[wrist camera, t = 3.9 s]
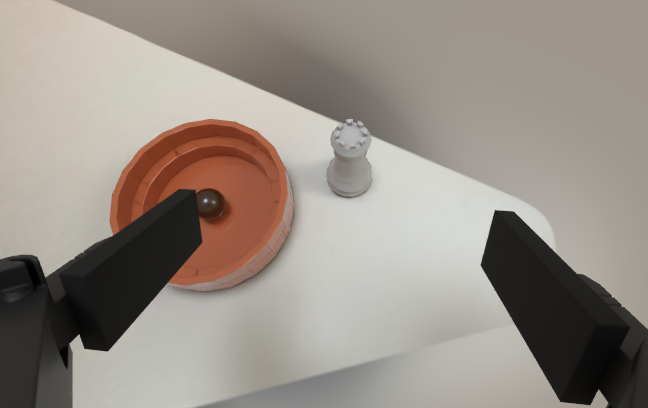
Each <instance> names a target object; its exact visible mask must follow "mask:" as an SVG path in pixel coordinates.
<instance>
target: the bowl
mask: <svg viewBox="0 0 648 408" xmlns="http://www.w3.org/2000/svg"><path fill="white" fill-rule="evenodd" d="M205 188H213V189H216V190H218V191H220V192H221V193H222V194H223V196H224V197H225V200H226V208H225V211H224V213H223V214H222V215H221V216H220V217H219V218H217V219H215V220H203V219H201V218H199V219H200V227H201V234H202V242H203V243H202V244H201V245H200V246H199V247H198V248H197V250H196V251H195V252H194V253H193V254H192V255H191V257H190V258H189V259H188V260H187V261H186V262H185V263H184V265H183V266H182V267H181V268H180V269H179V270H178V271H177V273H176V274H175V275H174V276H173V277H172V278H171V280H170V281H169V282H168V283H167V284H168V285H172V286H175V287H178V288H184V289H190V290H196V291H202V292H203V291H204V292H205V291H211V290H217V289H224V288H229V287H232V286H234V285H236V284H238V283H240V282H242V281H244V280H246V279H248V278H250V277H252V276H254V275H255V274H257V273H258V272H259V271H260V270H261V269H262V268H263V267H264V266H266V265H267V264H268V263H269V262H270V261H271V260H272V259H273V258H274V257H275V255H277V253H278V251H279V249H280V248H281V246H282V244H283V242H284V241H285V239H286V237H287V235H288V234H289V231H290V226H291V221H292V217H293V212H294V203H293V195H292V187H291V184H290V181H289V178H288V175H287V172H286V169H285V167H284V165H283V163H282V161H281V159H280V157H279V155H278V153H277V151H276V149H275V148H274V146H273V145H272V144H270V143H269V142H268V141H267V140H266V139H265V138H264V137H263V136H262V135H261V134H259V133H258V132H257V131H255V130H253V129H251V128H248V127H246V126H244V125H241V124H239V123H237V122H232V121H223V120H214V119H208V120H202V121H196V122H189V123H185V124H182V125H180V126H177V127H175V128H173V129H170V130H168V131H166V132H163V133H162V134H160V135H158V136H157V137H156V138H154V139H153V140H152V141H150V142H149V143H148V144H147V145H145V146H144V147H143V148H141V149H140V150H139V151H138V152H137V154H136V155H135V156H134V157H133V159H132V160H131V161H130V162H129V164H128V165H127V166H126V167H125V169H124V170H123V171H122V173H121V176H120V178H119V180H118V183H117V185H116V187H115V190H114V192H113V194H112V202H111V212H110V224H111V228H112V232H113V235H115V234H116V233H117V232H119V231H120V230H122V229H123V228H125V227H126V226H127V225H129V224H130V223H132V222H133V221H134V220H136V219H137V218H139V217H140V216H142V215H143V214H144V213H146V212H147V211H149V210H150V209H151V208H153V207H154V206H156V205H157V204H159V203H160V202H161V201H163V200H164V199H166V198H167V197H168V196H170V195H171V194H173V193H174V192H176V191H177V190H178V189H191V190H196V193H197V192H198V191H200V190H202V189H205Z"/></svg>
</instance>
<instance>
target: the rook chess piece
mask: <svg viewBox="0 0 648 408" xmlns="http://www.w3.org/2000/svg"><path fill="white" fill-rule="evenodd" d="M370 144H371V135H370V133H369V131H368V130H367V129H366V128H365V127H364V126H363V123H362V122H360V121H358V122H357V123H353V122H352V119H348V120H346V123H344V124H342V123H341V122H340V124H339V125H338V126H337V128H336V129H335V130H334V131H333V132H332V135H331V145H332V147H333V149H334V154H335V157H334V158H333V159H332V160H331V161H330V163H329V166H328V169H327V181H328V184H329V185H330V187H331V189H332V190H334V191H335V192H336V193H338V194H339V195H343V196H347V197H349V196H357V195H359V194H361V193H363V192H365V190H366V189H367V188H368V187H369V186H370V183H371V180H372V169H371V165H370V163H369V162H368V160H367V158H366V157H365V156H366V153H367V150H368V148H369V147H370Z"/></svg>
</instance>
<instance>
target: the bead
mask: <svg viewBox="0 0 648 408" xmlns="http://www.w3.org/2000/svg"><path fill="white" fill-rule="evenodd" d="M196 196H197V204H198V211H199V218H201V219H203V220H215V219H217V218H219V217H220V216H221V215H222V214H223V213H224V211H225V208H226V200H225V197H224V196H223V194H222V193H221V192H220V191H218V190H216V189H213V188H205V189H202V190H200V191H198V192H197V193H196Z"/></svg>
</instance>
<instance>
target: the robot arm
mask: <svg viewBox="0 0 648 408" xmlns="http://www.w3.org/2000/svg"><path fill="white" fill-rule="evenodd" d="M202 243H203V242H202V234H201V227H200V219H199V211H198V204H197V196H196V190H191V189H178V190H177V191H176V192H174V193H173V194H171V195H170V196H168V197H167V198H166V199H164V200H163V201H161V202H160V203H159V204H157V205H156V206H154V207H153V208H151V209H150V210H149V211H147V212H146V213H144V214H143V215H142V216H140V217H139V218H137V219H136V220H134V221H133V222H132V223H130V224H129V225H127V226H126V227H125V228H123V229H122V230H120V231H119V232H117V233H116V234H115V235H113V236H112V237H109V238H107V239H104V240H102V241H100V242H97V243H95V244H94V245H92V246H91V247H89V248H88V249H86V250H85V251H84V253H81V254H79V255H78V256H76V257H75V259H72V260H70V261H69V262H68V263H66V264H65V265H63V266H62V267H60V268H59V269H57V270H56V271H54V272H53V273H52V274H50V275H49V276H47V277H46V278H45V276H44V273H43V270H42V268H41V265H40V262H39V260H38V257H36V256H33V255H18V256H11V257H7V258H4V259H0V408H72V354H73V353H72V350H71V347H70V344H69V343H71V342H72V341H73V340H74V339H75V338H76V337H77V336H78V335H79V334H80V337H81V340H82V343H83V346H84V349H90V350H99V351H109V350H110V349H111V347H112V346H113V345H114V344H115V343H116V342H117V340H118V339H119V338H120V337H121V336H122V335H123V334H124V332H125V331H126V330H127V329H128V328H129V327H130V326H131V324H132V323H133V322H134V321H135V320H136V319H137V317H138V316H139V315H140V314H141V313H142V312H143V311H144V309H145V308H146V307H147V306H148V305H149V304H150V303H151V301H152V300H153V299H154V298H155V297H156V296H157V294H158V293H159V292H160V291H161V290H162V289H163V288H164V286H165V285H166V284H167V283H168V282H169V281H170V280H171V278H172V277H173V276H174V275H175V274H176V273H177V271H178V270H179V269H180V268H181V267H182V266H183V265H184V263H185V262H186V261H187V260H188V259H189V258H190V257H191V255H192V254H193V253H194V252H195V251H196V250H197V248H198V247H199V246H200V245H201V244H202ZM481 267H482V269H483V270H484V272H485V274H486V275H487V277H488V279H489V280H490V282H491V284H492V286H493V287H494V289H495V291H496V292H497V294H498V296H499V298H500V299H501V301H502V303H503V304H504V306H505V308H506V310H507V311H508V313H509V315H510V316H511V318H512V320H513V322H514V323H515V325H516V327H517V328H518V330H519V332H520V333H521V335H522V337H523V339H524V340H525V342H526V344H527V345H528V347H529V349H530V351H531V352H532V354H533V356H534V357H535V359H536V361H537V362H538V364H539V366H540V368H541V369H542V371H543V373H544V375H545V376H546V378H547V380H548V381H549V383H550V385H551V386H552V388H553V390H554V391H555V393H556V395H557V397H558V398H559V400H560V402H566V403H576V404H584V405H591V403H592V401H593V399H594V397H595V395H596V393H597V391H598V389H599V390H600V391H601V393H602V394H603V396H604V397H605V398H606V400H607V401H608V405H607V407H606V408H648V329H647V328H645V326H644V325H642V324H641V323H640V322H639V321H638V320H637V319H636V318H635V317H634V316H633V315H632V314H631V313H630V312H629V311H628V310H626V309H625V308H624V307H621V304H620V303H619V302H618V301H617V300H616V299H615V298H612V297H611V295H610V294H609V293H608V292H607V291H606V290H605V289H604V288H603V287H602V286H601V285H600V284H598V283H596V282H595V281H593V280H591V279H590V278H588V277H587V276H585V275H582V274H576V273H575V272H574V271H573V270H572V269H571V268H570V267H569V266H568V265H567V264H566V263H565V262H564V261H563V260H562V259H561V258H560V257H559V256H558V255H557V254H556V253H555V252H554V251H553V250H552V249H551V248H550V247H549V246H548V245H547V244H546V243H545V242H544V241H543V240H542V239H541V238H540V237H539V236H538V235H537V234H536V233H535V232H534V231H533V230H532V229H531V228H530V227H529V226H528V225H527V224H526V223H525V222H524V221H523V220H522V219H521V218H520V217H519V216H518V215H517V214H516V213H515V212H512V211H498V210H495V212H494V216H493V220H492V224H491V227H490V231H489V235H488V239H487V243H486V247H485V250H484V254H483V258H482V262H481Z"/></svg>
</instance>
